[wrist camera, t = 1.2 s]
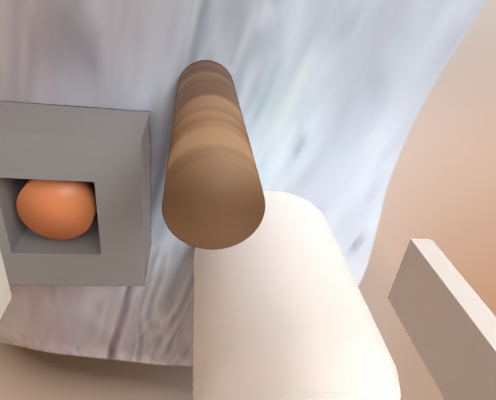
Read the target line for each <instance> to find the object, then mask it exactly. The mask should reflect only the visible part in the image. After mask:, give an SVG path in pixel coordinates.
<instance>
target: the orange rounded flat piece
mask: <svg viewBox="0 0 496 400" xmlns="http://www.w3.org/2000/svg"><path fill="white" fill-rule="evenodd" d="M16 206H17V212H18V214H19V217H20V218H21V220H22V221H23V223H24V224H25V225H26V226H27V227H28V228H29V229H31V230H32V231H34V232H35V233H37V234H39V235H41V236H44V237H47V238H50V239H57V240H66V239H72V238H75V237H78V236H80V235H82V234H83V233H84V232H86V231H87V230H88V228H89V227H90V226H91V224H92V221H93V219H94V216H95V213H96V211H97V205H96V194H95V187H94V185H93V184H92V183H91V182H84V181H62V180H40V179H29V180H28V182H27V183H26V184H25V186H24V187H23V189H22V190H21V191H20V193H19V195H18V197H17V202H16Z"/></svg>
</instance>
